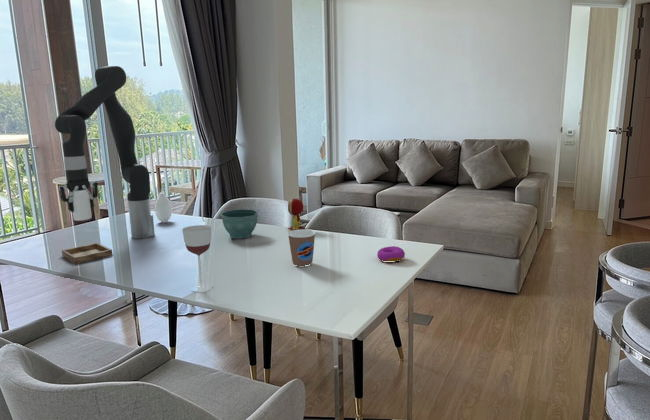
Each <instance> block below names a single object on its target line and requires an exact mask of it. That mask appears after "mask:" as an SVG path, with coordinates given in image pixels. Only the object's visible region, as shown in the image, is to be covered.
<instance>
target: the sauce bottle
mask: <svg viewBox="0 0 650 420" xmlns="http://www.w3.org/2000/svg"><path fill="white" fill-rule="evenodd" d="M172 210H173V209H172V204H171V201H170V200H169V198H168V196H167V195H166V194H165V192H163V189H162V187H161V188H160V192H159V193H158V196H157V198H156V201H155V205H154V212H155V216H156V218H157V220H158V221H159V222H160V223H163V224H164V223H165V224H166V223H167V222H169V220H170V219H171V217H172V213H173V212H172Z"/></svg>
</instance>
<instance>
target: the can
mask: <svg viewBox="0 0 650 420" xmlns="http://www.w3.org/2000/svg"><path fill="white" fill-rule="evenodd" d="M74 192H75V193H74V197H73V200H72V202H73V208H74V212H72V219H73V220H74V221H76V222H82V221H84V222H85V221H89V220H91V219H92V209H91V207H90V199H89V194H88V192H87V190H86V189H84V190H75V191H74ZM70 194H72V192H71V193H70Z"/></svg>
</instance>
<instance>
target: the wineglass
mask: <svg viewBox="0 0 650 420" xmlns="http://www.w3.org/2000/svg"><path fill="white" fill-rule="evenodd" d="M181 230H182V235H183V240H184V243H185V248H186V250H187V251H188V252H189V253H191V254H194V255H197V263H198V276H199V277H198V278H199V284H200V286H198V287H204V286H202V284H203V277H202V276H203V275H202V264H201V263H202V262H201V255H203V254H204V253H206V252H207V251H208V250H209V249H210V246H211V239H212V227H211V226H210V225H205V224H203V225H202V224H201V225H200V224H198V225H197V224H196V225H189V226H185V227H183V228H182V229H181Z"/></svg>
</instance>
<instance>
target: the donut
mask: <svg viewBox="0 0 650 420" xmlns="http://www.w3.org/2000/svg"><path fill="white" fill-rule="evenodd" d="M376 254H377V255H376V256H377V258H378V260H379V259H380V260H383V261H397V260H401V259H402V258H404V259H405V255H406V253H405V250H404V249H403V248H401V247H399V246H395V245H393V246H385V247H382V248H380V249H379V250H378V251H377V253H376ZM380 260H379V261H380ZM402 260H403V259H402ZM402 260H401V261H402Z"/></svg>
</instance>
